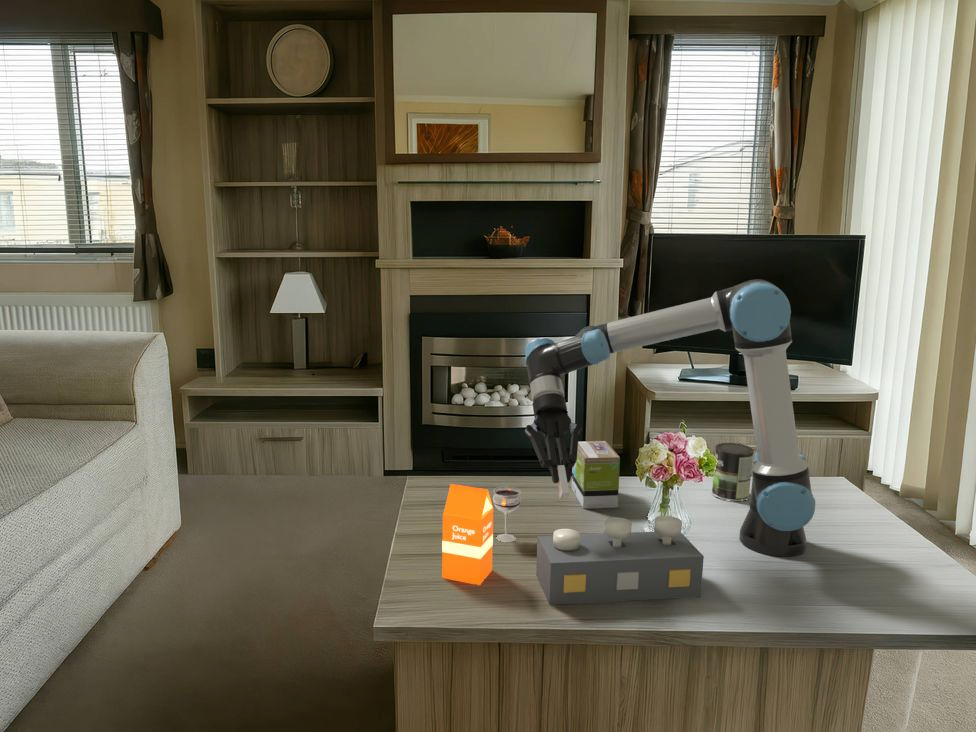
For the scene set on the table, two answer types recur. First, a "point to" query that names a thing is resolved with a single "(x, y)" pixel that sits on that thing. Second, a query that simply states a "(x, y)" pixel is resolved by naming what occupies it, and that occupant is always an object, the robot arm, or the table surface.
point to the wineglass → (506, 506)
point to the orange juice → (467, 535)
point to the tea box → (596, 475)
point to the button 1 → (566, 539)
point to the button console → (619, 569)
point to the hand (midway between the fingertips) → (564, 495)
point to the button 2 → (667, 528)
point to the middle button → (617, 529)
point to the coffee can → (732, 471)
